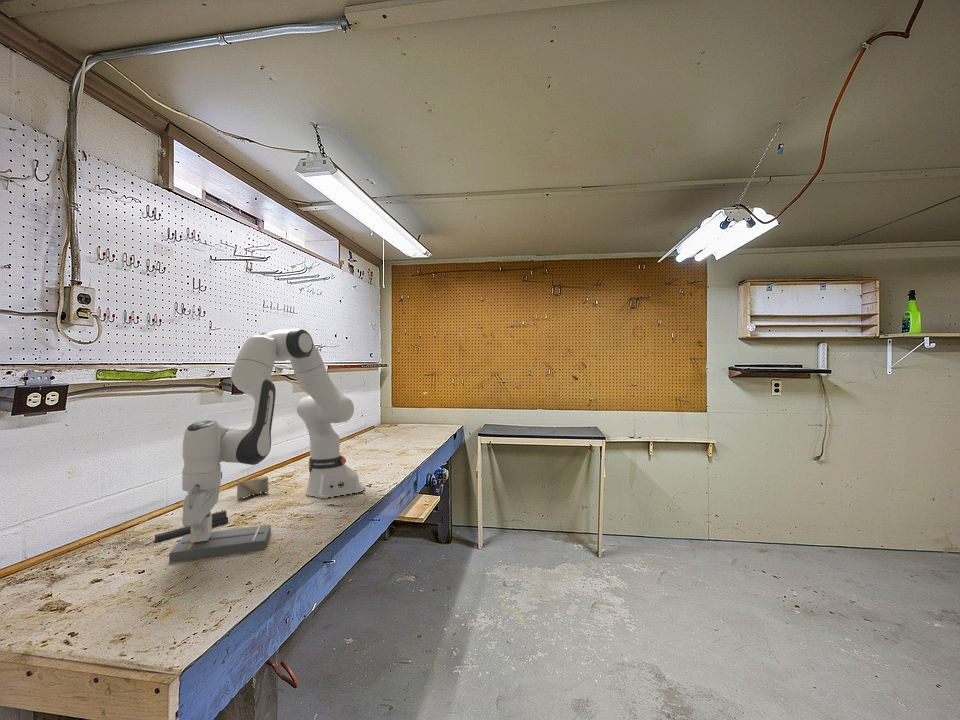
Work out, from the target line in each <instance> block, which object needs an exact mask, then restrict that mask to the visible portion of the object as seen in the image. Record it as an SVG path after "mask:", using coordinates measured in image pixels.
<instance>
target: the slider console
mask: <svg viewBox="0 0 960 720" xmlns="http://www.w3.org/2000/svg"><path fill="white" fill-rule="evenodd" d="M271 528H272V525H271V524H265V525H258V526H257V525H256V526H250V527H249V526H248V527H240V528H233V529H224V530H223V529H222V530H216V531H212V535H211V537H210V538H209V540H208V541H200V542H192V543H191V533H189V534H186V535H183V536H182V537H181V538H180V540H179V541H178V542H177V543H176V545H175V546H174V547H173V548H172V549H171V551H170V552H169V553H168V556H169V557H168V558H169V560H168V563H176V562H183V561H184V562H185V561H191V560H198V559H205V558H213V557H219V556H227V555H228V556H229V555H236V554H241V553H249V552H257V550H258V551H265V550H266V547H267V544H268V542H269V539H270V537H271V534H270V533H272V532H271V531H272V529H271ZM264 549H265V550H264Z"/></svg>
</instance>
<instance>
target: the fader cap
mask: <svg viewBox="0 0 960 720" xmlns="http://www.w3.org/2000/svg"><path fill="white" fill-rule="evenodd" d="M212 514H213V513H211V514H207V515H206V517H205V518H204V519H203V522H202V527H203V533H202V534H201V535H200V536H194V529H193V526H191V533H190V534H191V543H192V542H200V541H208V540H209V538H210V537H211V535H212V532H213V531H212V530H213V527H212Z"/></svg>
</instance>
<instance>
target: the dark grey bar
mask: <svg viewBox="0 0 960 720" xmlns="http://www.w3.org/2000/svg"><path fill="white" fill-rule="evenodd" d="M210 514H212V528H214V527H217V526H222V525H225V524H229V517H228V516H227V515H228V514H227V511H226V510H223V509H222V510H221V511H216V512H214V513H211V512H210ZM185 534H186V535H189V534H191V526H190V527H184V526H183V527H181V528H176V529H173V530H170V531H166V532H161V533H158V534H154V542H156V543H160V542H164V541H167V540H171V539H174V538H178V537H181V536H182V537H183V536H184V535H185Z"/></svg>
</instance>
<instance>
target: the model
mask: <svg viewBox="0 0 960 720" xmlns="http://www.w3.org/2000/svg"><path fill="white" fill-rule="evenodd" d="M237 482H238V483H237V485H236V489H237V490H236V491H237V492H236V500H237V499H240V498H243V497H246V496H249V495H253V494H258V496H260V495H259V494H261V493H260V492H267V493H268V494H269V476H268V475H260V476H255V477H254V478H252V479H248V480H245V481H239V480H237ZM267 493H266V494H267ZM253 496H254V495H253ZM243 499H244V498H243ZM240 500H241V499H240Z"/></svg>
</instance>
